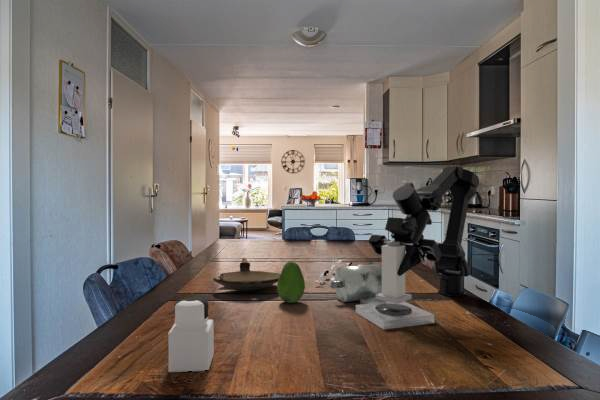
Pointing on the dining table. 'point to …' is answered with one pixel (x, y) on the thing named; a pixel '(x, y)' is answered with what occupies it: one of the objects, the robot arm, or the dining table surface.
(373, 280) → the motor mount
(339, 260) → the miniature set
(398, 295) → the white pedestal with button
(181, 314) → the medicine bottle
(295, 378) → the dining table surface
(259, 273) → the oil lamp
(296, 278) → the avocado
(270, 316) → the dining table surface
